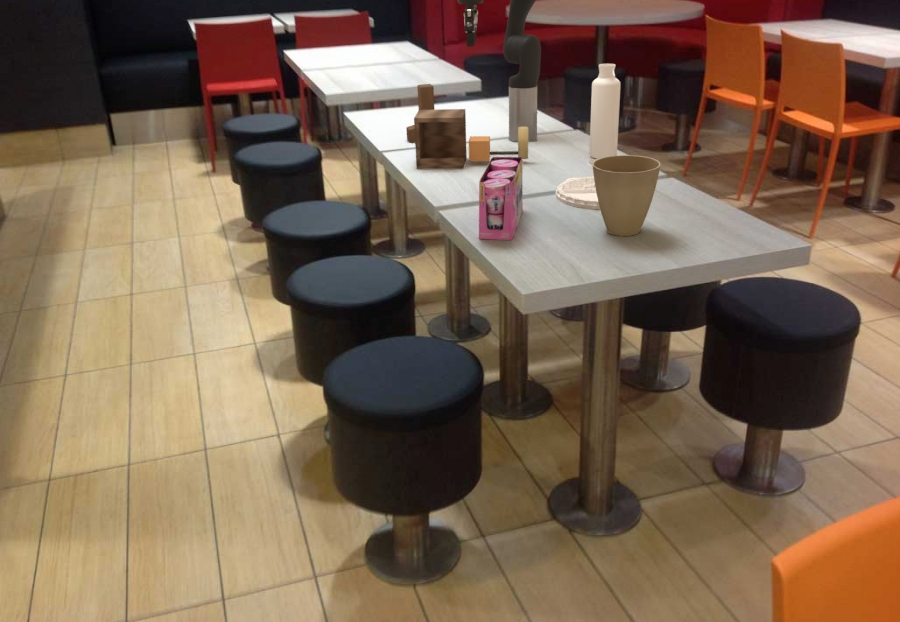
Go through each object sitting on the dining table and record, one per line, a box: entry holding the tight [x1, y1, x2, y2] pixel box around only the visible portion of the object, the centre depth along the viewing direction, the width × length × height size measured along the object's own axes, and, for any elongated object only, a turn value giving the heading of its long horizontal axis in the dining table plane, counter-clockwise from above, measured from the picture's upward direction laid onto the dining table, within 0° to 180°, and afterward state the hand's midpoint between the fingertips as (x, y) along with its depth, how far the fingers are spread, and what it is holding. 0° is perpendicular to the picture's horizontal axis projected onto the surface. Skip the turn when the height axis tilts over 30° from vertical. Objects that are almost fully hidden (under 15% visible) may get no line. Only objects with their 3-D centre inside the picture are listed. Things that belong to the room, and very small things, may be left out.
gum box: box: [478, 156, 524, 241], centre depth 197 cm, size 24×8×14 cm, turn 169°
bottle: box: [588, 63, 622, 165], centre depth 242 cm, size 8×8×28 cm
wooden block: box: [405, 83, 435, 144], centre depth 277 cm, size 9×4×18 cm, turn 106°
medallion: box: [555, 175, 601, 211], centre depth 219 cm, size 24×27×2 cm
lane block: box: [468, 127, 529, 162], centre depth 248 cm, size 18×6×9 cm, turn 85°
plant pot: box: [592, 154, 661, 237], centre depth 189 cm, size 15×15×16 cm
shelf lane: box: [413, 108, 467, 170], centre depth 249 cm, size 14×12×15 cm
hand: (471, 44), depth 247 cm, fingers open, 8 cm apart
